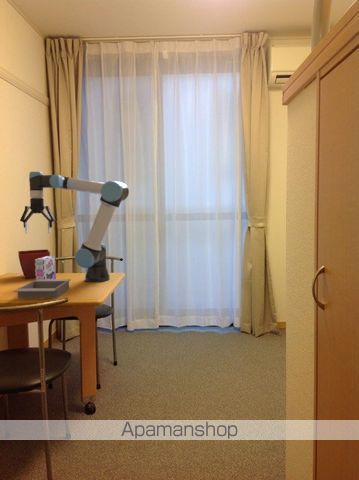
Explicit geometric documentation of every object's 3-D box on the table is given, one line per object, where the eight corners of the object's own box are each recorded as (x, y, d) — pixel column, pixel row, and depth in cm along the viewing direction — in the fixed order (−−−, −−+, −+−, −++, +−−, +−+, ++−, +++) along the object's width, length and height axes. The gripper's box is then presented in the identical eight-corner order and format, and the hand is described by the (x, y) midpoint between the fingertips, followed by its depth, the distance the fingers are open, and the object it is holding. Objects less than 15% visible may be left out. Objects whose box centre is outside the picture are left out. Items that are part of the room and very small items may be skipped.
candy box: (44, 287, 218) (43, 259, 216) (35, 286, 219) (34, 259, 217) (56, 282, 231) (55, 255, 230) (47, 281, 232) (46, 255, 231)
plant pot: (19, 275, 255) (18, 250, 254) (48, 272, 263) (47, 249, 261) (19, 280, 238) (18, 254, 236) (51, 277, 246) (50, 252, 244)
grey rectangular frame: (71, 287, 215) (70, 279, 215) (54, 300, 188) (53, 290, 188) (36, 287, 216) (35, 279, 215) (14, 300, 189) (13, 290, 188)
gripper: (59, 197, 228) (60, 232, 230) (18, 197, 228) (20, 232, 230) (55, 197, 220) (56, 233, 223) (13, 197, 220) (14, 233, 222)
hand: (38, 233), depth 226 cm, fingers open, 13 cm apart
